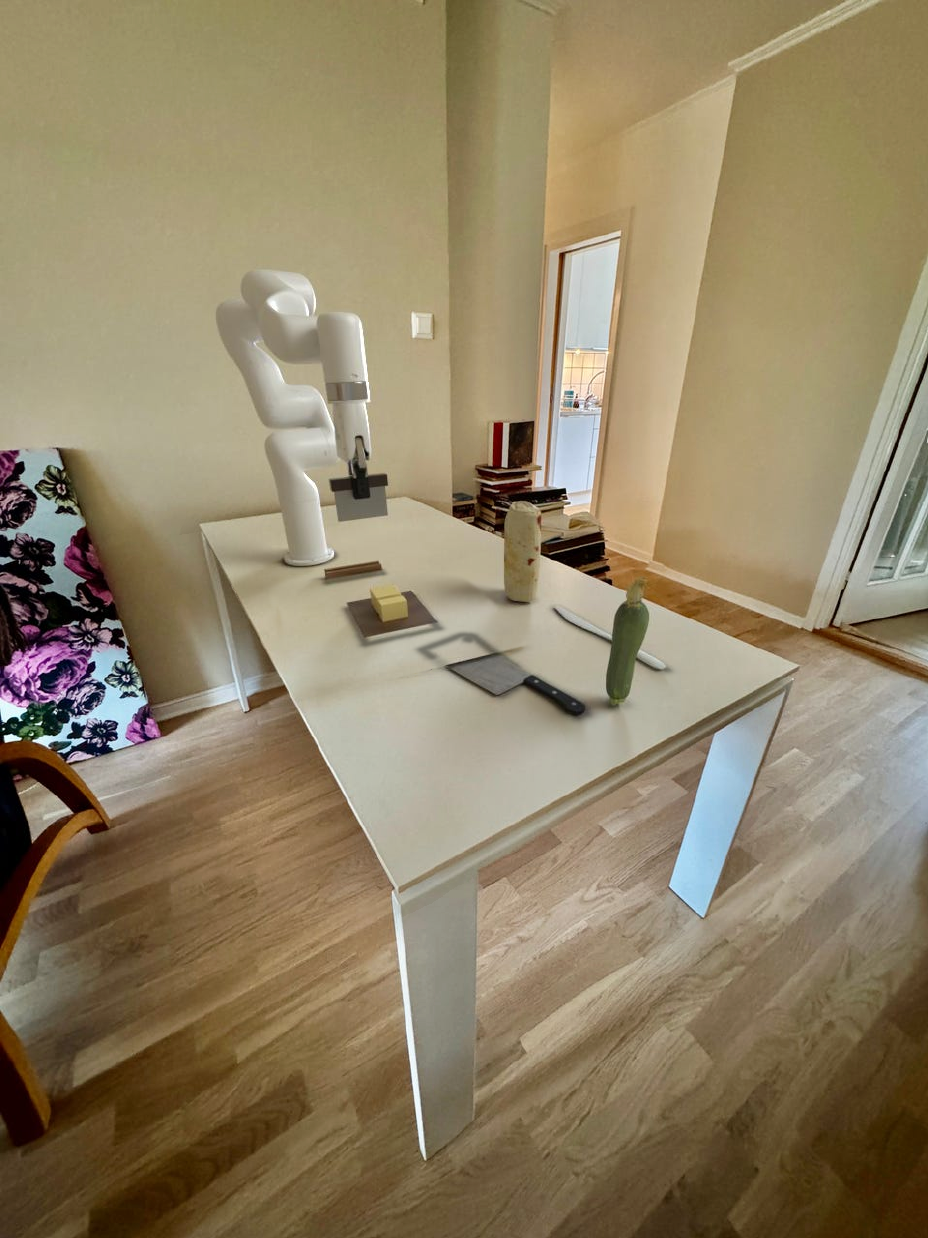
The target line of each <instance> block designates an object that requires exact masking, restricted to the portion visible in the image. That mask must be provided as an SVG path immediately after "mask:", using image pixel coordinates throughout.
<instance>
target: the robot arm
mask: <svg viewBox="0 0 928 1238" xmlns="http://www.w3.org/2000/svg"><path fill="white" fill-rule="evenodd" d="M240 292H241V297H242V298H231V299H226V300H223V301H222V302H220V303H219V304H218V305H217V307H216V309H215V323H216V326H217V330H218V334H219V337H220V340H221V342H222V344H223V347H224V348H225V350H226V352H227V354H228V356H229V357H230V358H231V360H232V361H233V363H234V365H235V366H236V367H237V369H238V370H239V372H240V374H241V376H242V378H243V380H244V383H245V386H246V388H247V391H248V394H249V397H250V399H251V401H252V404H253V407H254V409H255V411H256V415H257V417H258V419H259V420H260V422H261V424H263V426H264V427H265V428H268V429H273V430H277V431H274V432H271V433H270V434H268V436H267V437H266V438H265V440H264V452H265V456H266V458H267V462H268V464H269V466H270V469H271V472H272V475H273V479H274V483H275V488H276V492H277V497H278V501H279V507H280V512H281V516H282V522H283V527H284V532H285V537H286V542H287V547H288V548H287V549H288V551H287V552H286V553H285V554H284V556H283V558H284V559H283V560H284V562H285V563H286V564H288V565H290V566H295V567H307V566H308V567H310V566H315V565H320V564H323V563H327V562H329V561H331V560H332V559H333V558H334V556H335V551H334V550H333V548H331V547H328V546H327V540H326V533H325V527H324V521H323V514H322V507H321V501H320V495H319V490H318V488H317V485H316V484H315V482H313V481H312V479H310V478H309V477H308V475H307V474H306V473H305V472H309V471H313V470H319V469H326V468H327V469H328V468H332V467H335V466H336V465H338V464H339V463H340V461H343V462H345V463H346V467H347V474H348V476H347V477H351V476H353V478H351V481H352V489H353V497H354V499H355V500H358V499H367V498H370V487H369V479H368V475H369V474H368V473H369V472H368V463H367V461H370V460H371V459H372V443H371V435H370V428H369V427H370V426H369V420H368V414H367V409H366V403H370V402H371V400H370V390H369V389H370V388H369V382H368V381H369V379H368V370H367V362H366V351H365V343H364V342H365V341H364V334H363V325H362V321H361V319H360V317H359V316H358V315H357V314H356V313H354V312H348V311H329V312H328V311H326V312H323V313H320V314H319V315H314V314H315V310H316V305H317V301H316V294H315V290H314V287H313V286H312V283H311V282H310V280H309V279H308V278H307V277H306V276H304V275H303V274H301V273H300V272H294V271H287V270H279V269H276V270H275V269H267V268H254V269H251V270H249V271H247V272H246V273H245V274H244V276H243V277H242V279H241V282H240ZM257 344H264V345H265V347H266V348H267V350H268V351H269V352H271V353H272V355H274V356H275V357H276V358H277V359H278V360H280V361H282V362H283V363H286V364H290V365H313V364H314V365H321V367H322V374H323V380H324V381H323V382H324V387H325V396H326V401H327V402H326V403H327V404H328V405H332V419H331V416H330V414H329V410H328V408H327V405H326V403H325V400H324V399H323V398H324V397H323V396H322V395H321V393H320V392H319V390H318V389H316V387H314V386H312V385H310V384H288V383H286V382H285V380H284V378H283V376H282V373H281V370H280V368H279V365H278V363H276V361H275V360H274V359H273V358H272V357H271V356H270V355H269V354H268V353H267V352H265V350H263V349H262V348H260V347H259V346H258V345H257ZM332 421H333V422H332Z"/></svg>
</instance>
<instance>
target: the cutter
mask: <svg viewBox="0 0 928 1238" xmlns="http://www.w3.org/2000/svg"><path fill="white" fill-rule="evenodd" d="M351 478H353V476H352V475H351V477H348V476H343V477H332V478H328V483H329V491H330V492H332V493H333V495H334V502H335V509H336V516H337V522H338V523H341V522H342V523H343V522H349V521H356V520H364V519H372V518H379V517H387V516H388V515H389V511H388V503H387V492H386V487H388V486H389V480H388V479H389V478H388V474H387V473H385V472H381V473H373V474H372V473H371V474H368V479H369V487H370V498H367V499H358V500H355V499H354V497H353V489H352V481H351Z"/></svg>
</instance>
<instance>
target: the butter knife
mask: <svg viewBox="0 0 928 1238" xmlns="http://www.w3.org/2000/svg"><path fill="white" fill-rule="evenodd" d="M554 609H555V610H556V611H557V612H558V613H559V614H560V615H561V616H562V617H563V618H564V619H565V620H567V621H569V622H570V623H572V624H574V625H576V626H578V627H580V628H582V629H584V630H587V631H589V632H591V633H593V634H596V635H599V636H600V637H603V638H605V639H606V640H609V641H610V642H612V634H609V633H607V632H606V631H604V630H602V629H600V628H598V627H597V626H595V625H594V624H592V623H591V622H588V621H586V620H585V619H583V618H581V617H580V616H578V615H576V614H575V613H572V612H571V611H568V610H567V609H565V608H563V606H560V605H555V606H554ZM636 659H639V660H640V661H641V662H643V663H645V664H646V665H649V666H651V667H652V668H654V669H658V670H664V669H666V668H667V665H666V664H665V663H664V662H663V661H661V660H659V659H658V658H657V657H654V656H652V655H651V654H649V653H647V652H645V651H643V650H641V649H639V651H638V654H637V657H636Z"/></svg>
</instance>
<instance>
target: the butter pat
mask: <svg viewBox="0 0 928 1238" xmlns="http://www.w3.org/2000/svg"><path fill="white" fill-rule="evenodd" d="M378 608H379V617H380V618H381V620H382V621H383V622H385V621H390V620H395V619H400V618H405V617H408V609H407V600H406V599H405V598H404V596H398V597H393V598H387V599H382V600H378Z"/></svg>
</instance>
